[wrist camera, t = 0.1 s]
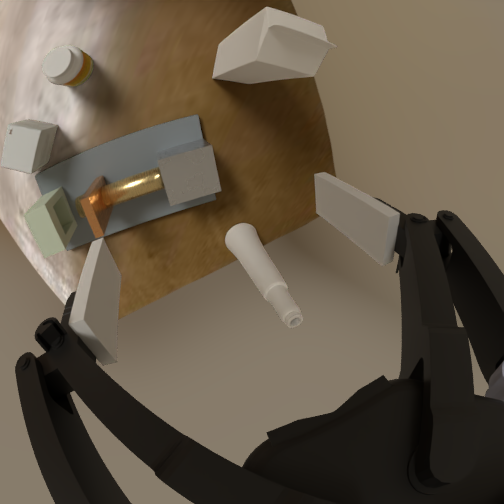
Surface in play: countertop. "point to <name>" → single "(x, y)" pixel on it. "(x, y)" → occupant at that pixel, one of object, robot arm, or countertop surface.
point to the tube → (114, 196)
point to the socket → (51, 222)
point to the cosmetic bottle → (263, 272)
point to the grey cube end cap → (188, 171)
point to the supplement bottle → (67, 66)
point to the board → (122, 176)
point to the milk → (272, 49)
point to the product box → (28, 145)
